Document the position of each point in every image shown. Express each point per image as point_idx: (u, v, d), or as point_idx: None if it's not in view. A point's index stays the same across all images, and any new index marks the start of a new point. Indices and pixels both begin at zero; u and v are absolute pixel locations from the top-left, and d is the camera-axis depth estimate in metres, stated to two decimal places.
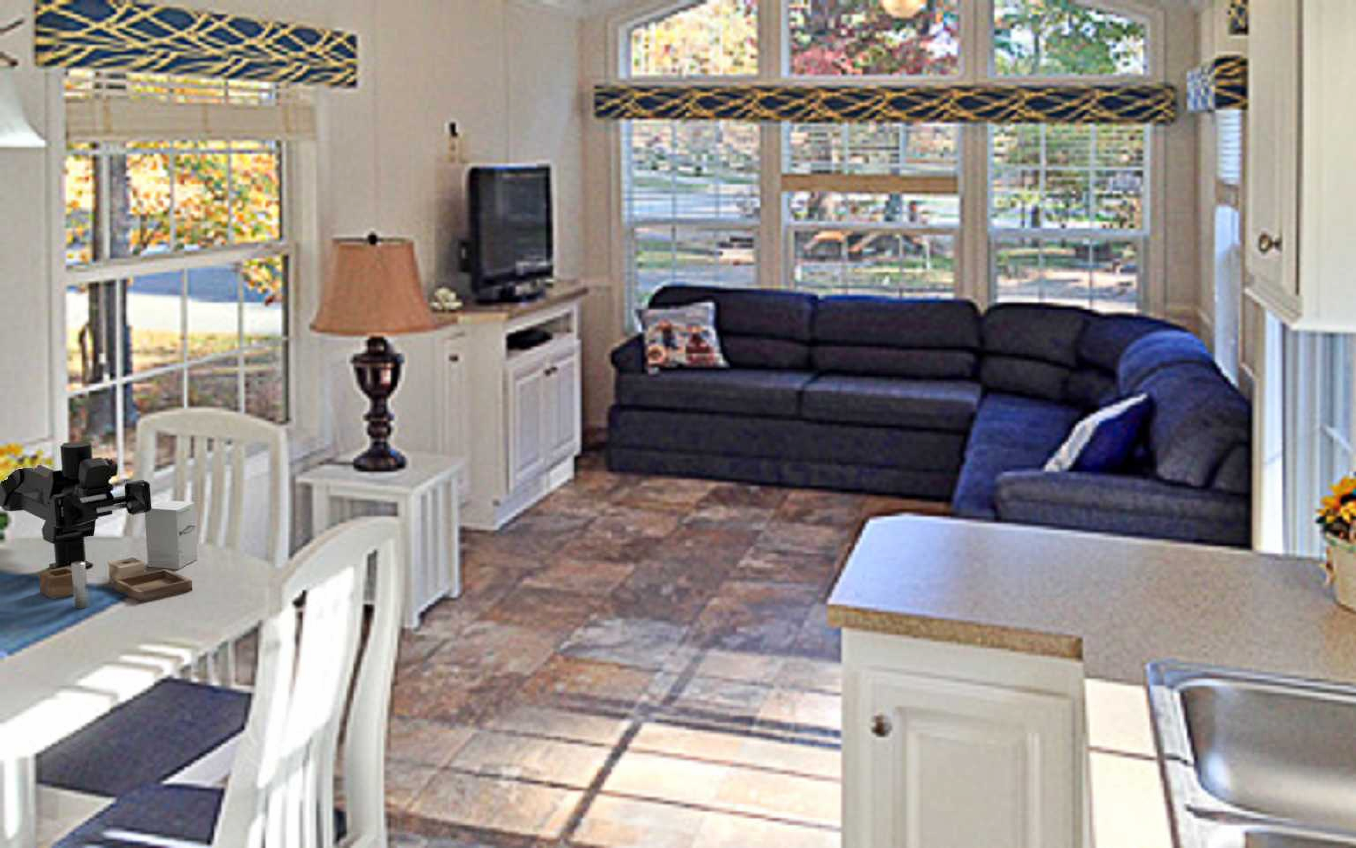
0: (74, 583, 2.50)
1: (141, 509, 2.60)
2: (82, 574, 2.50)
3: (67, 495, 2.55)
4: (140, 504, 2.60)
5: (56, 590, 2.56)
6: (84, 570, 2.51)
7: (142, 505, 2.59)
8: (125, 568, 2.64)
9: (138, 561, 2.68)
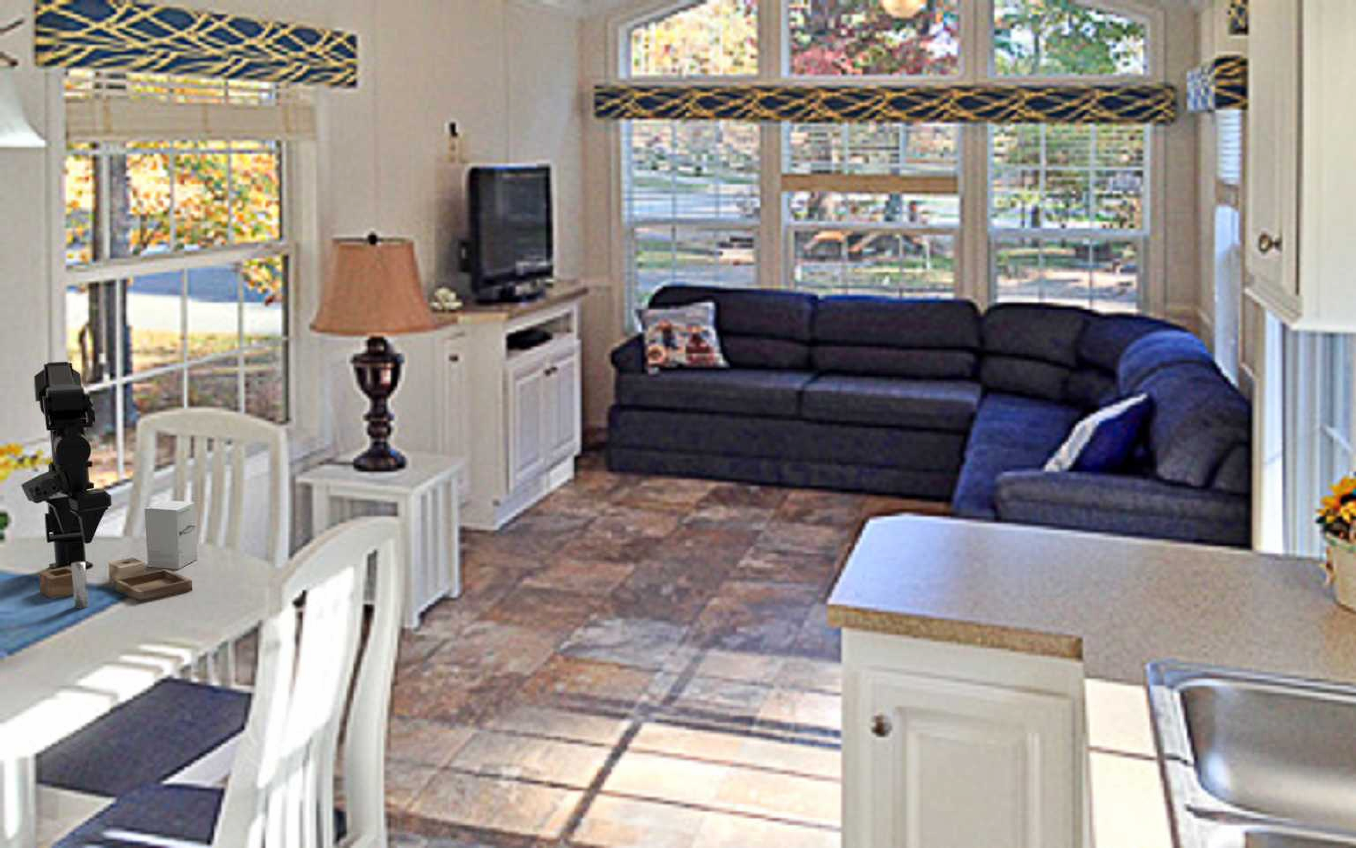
0: (74, 583, 2.50)
1: None
2: (82, 574, 2.50)
3: None
4: None
5: (56, 590, 2.56)
6: (84, 570, 2.51)
7: None
8: (125, 568, 2.64)
9: (138, 561, 2.68)
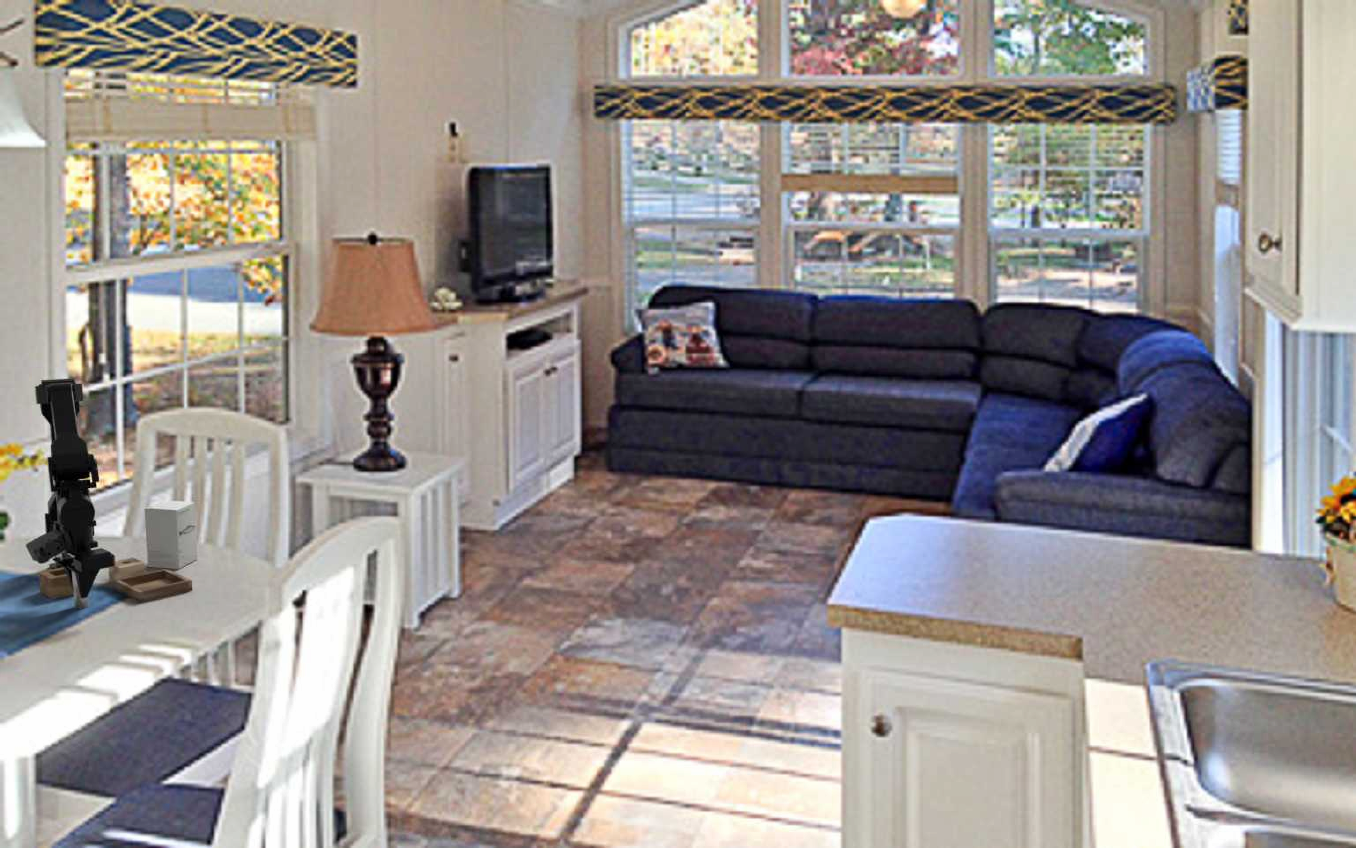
0: (74, 583, 2.50)
1: None
2: None
3: None
4: None
5: (56, 590, 2.56)
6: None
7: None
8: (125, 568, 2.64)
9: (138, 561, 2.68)
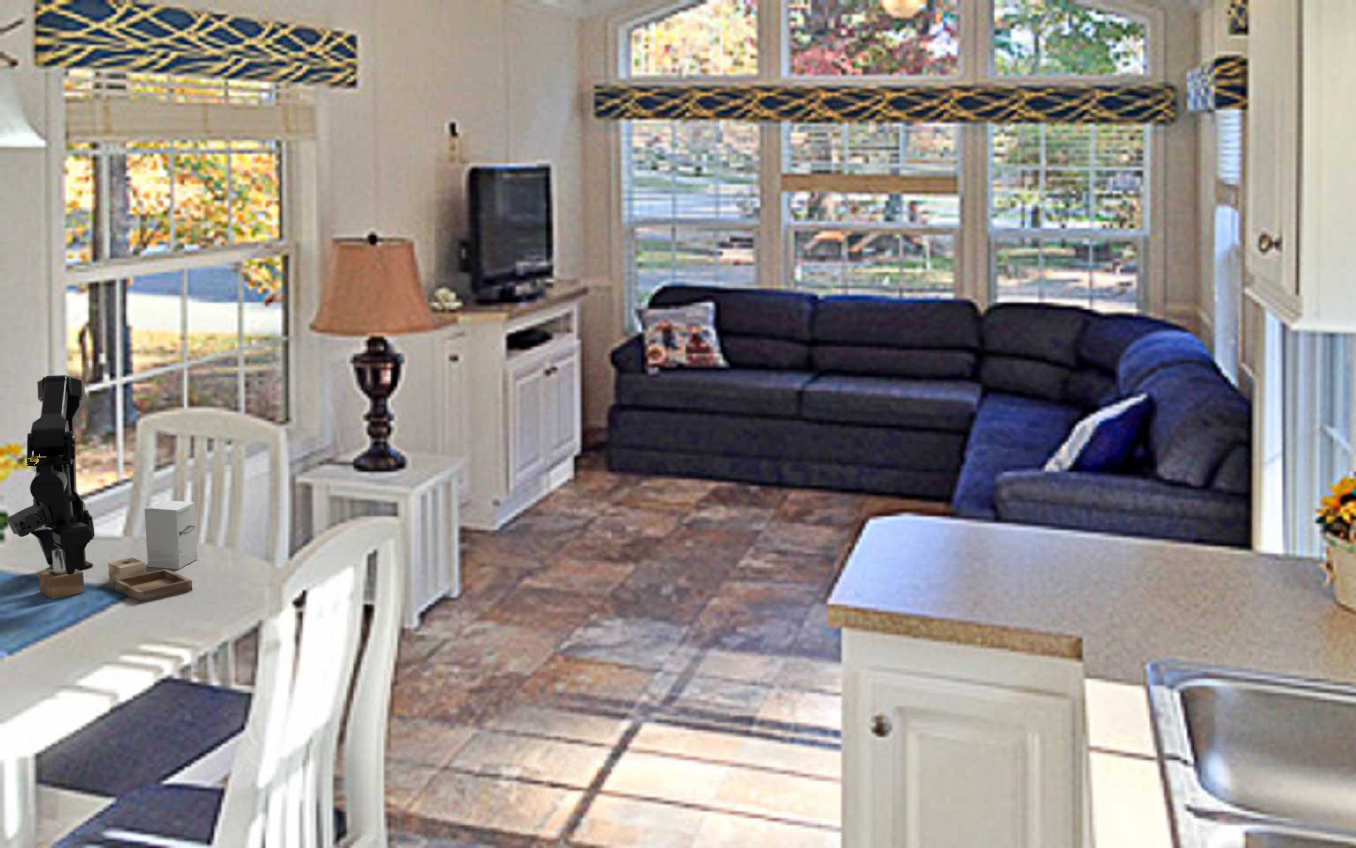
0: (55, 569, 2.58)
1: None
2: (62, 561, 2.58)
3: None
4: None
5: (56, 590, 2.56)
6: None
7: None
8: (126, 568, 2.64)
9: (138, 561, 2.68)
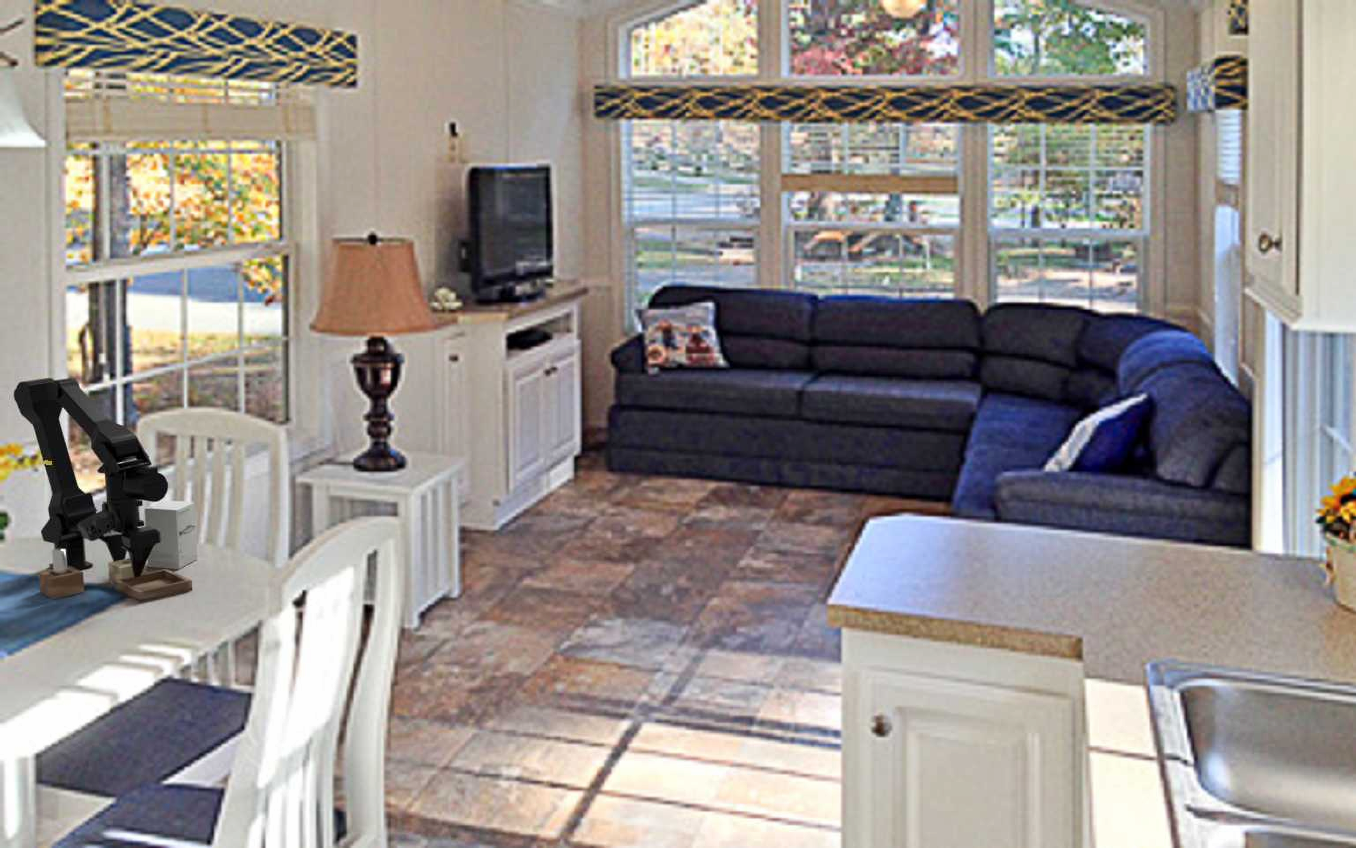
0: (55, 569, 2.58)
1: None
2: (62, 561, 2.58)
3: None
4: None
5: (56, 590, 2.56)
6: (64, 557, 2.59)
7: None
8: (126, 568, 2.64)
9: None
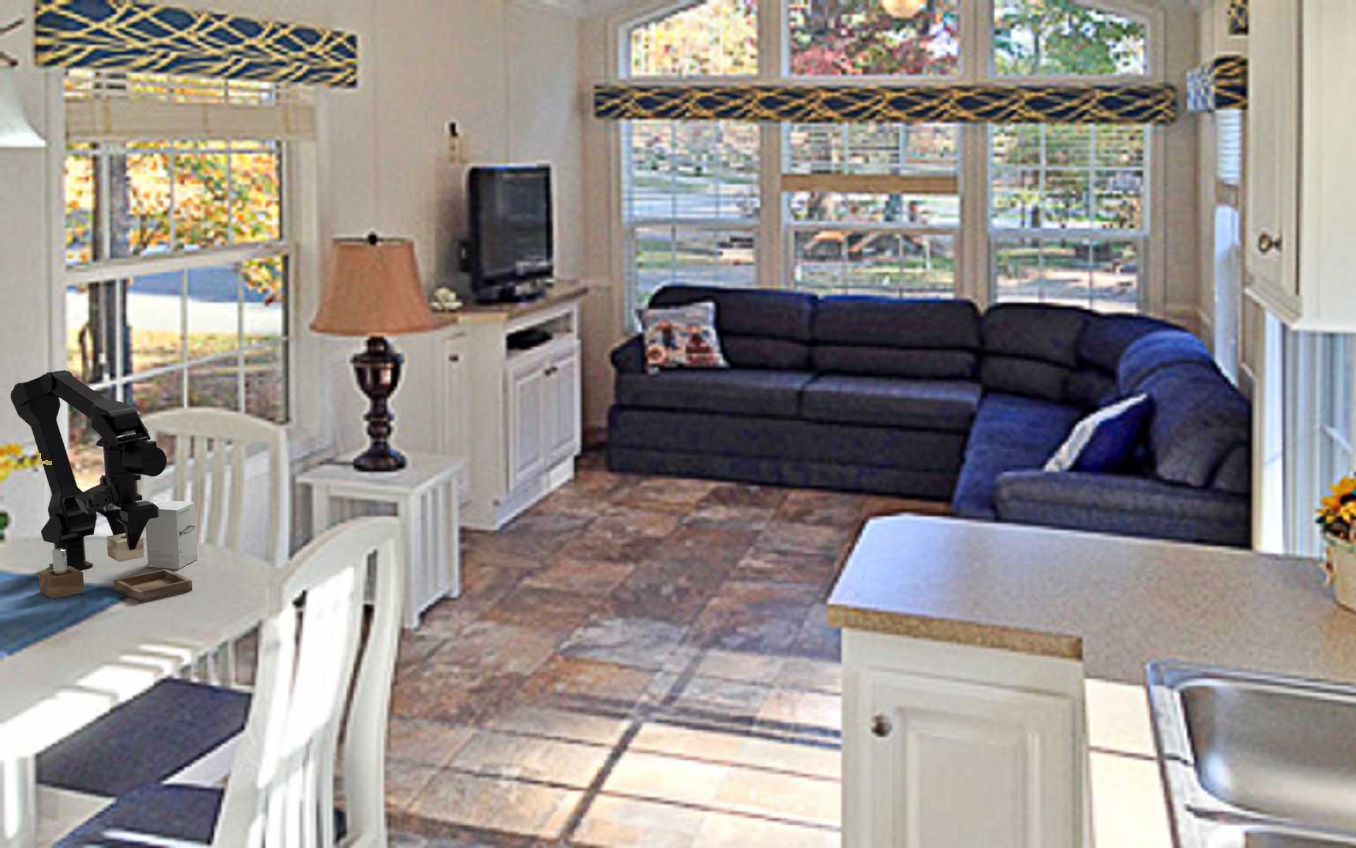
0: (55, 569, 2.58)
1: None
2: (62, 561, 2.58)
3: None
4: None
5: (56, 590, 2.56)
6: (64, 557, 2.59)
7: None
8: (124, 543, 2.63)
9: None
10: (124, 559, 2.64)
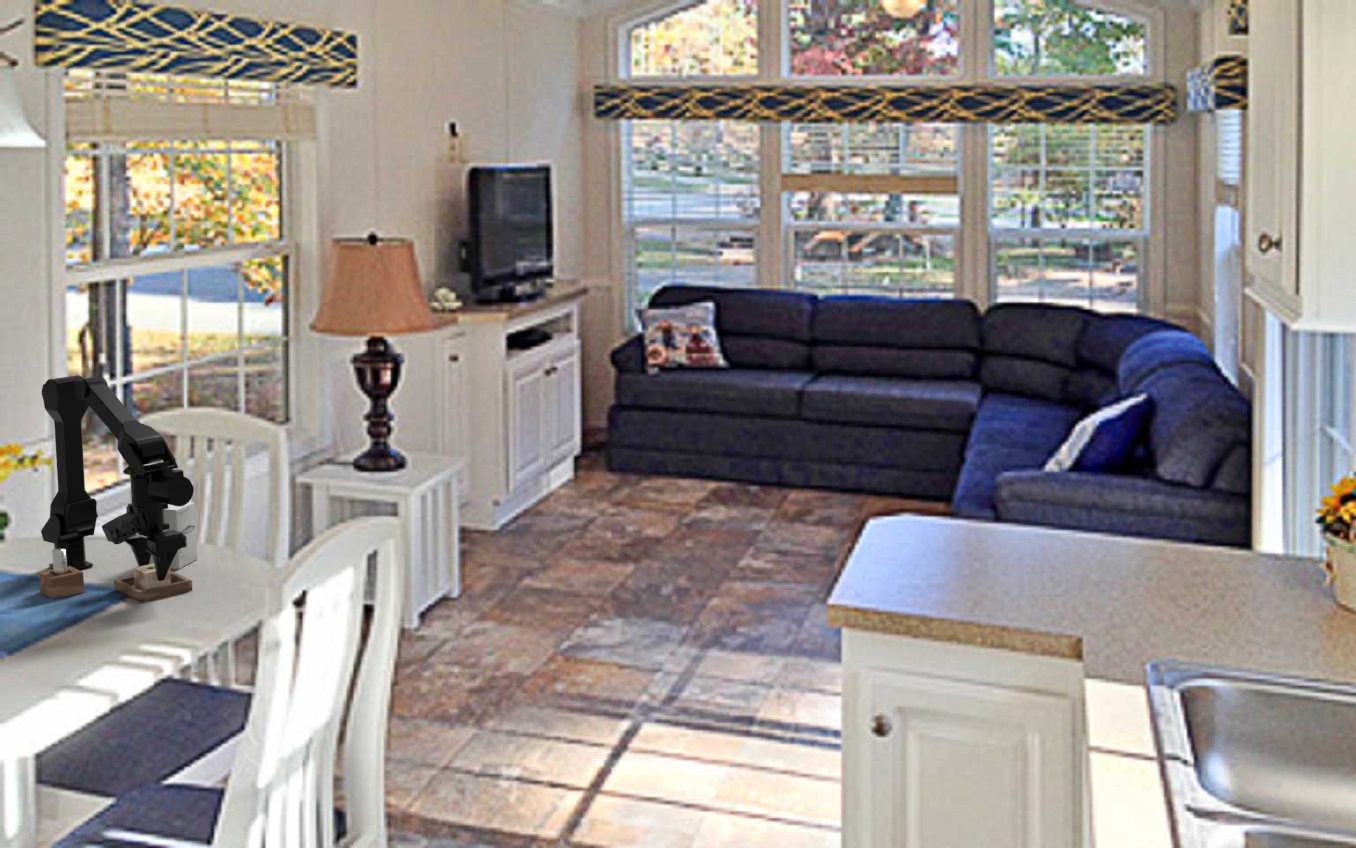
0: (55, 569, 2.58)
1: None
2: (62, 561, 2.58)
3: None
4: None
5: (56, 590, 2.56)
6: (64, 557, 2.59)
7: None
8: (150, 573, 2.59)
9: None
10: None
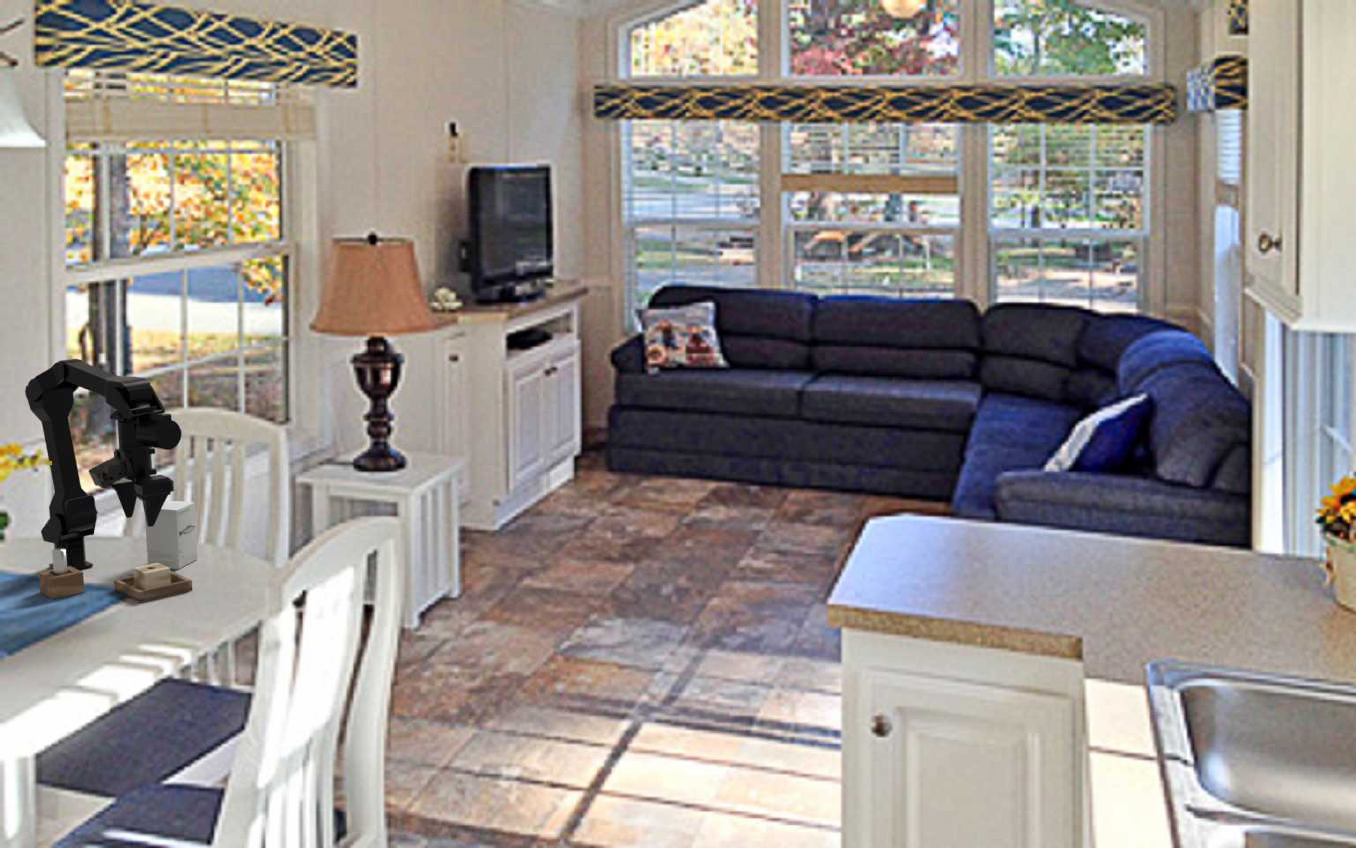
0: (55, 569, 2.58)
1: None
2: (62, 561, 2.58)
3: None
4: None
5: (56, 590, 2.56)
6: (64, 557, 2.59)
7: None
8: (150, 573, 2.59)
9: (163, 567, 2.62)
10: None
